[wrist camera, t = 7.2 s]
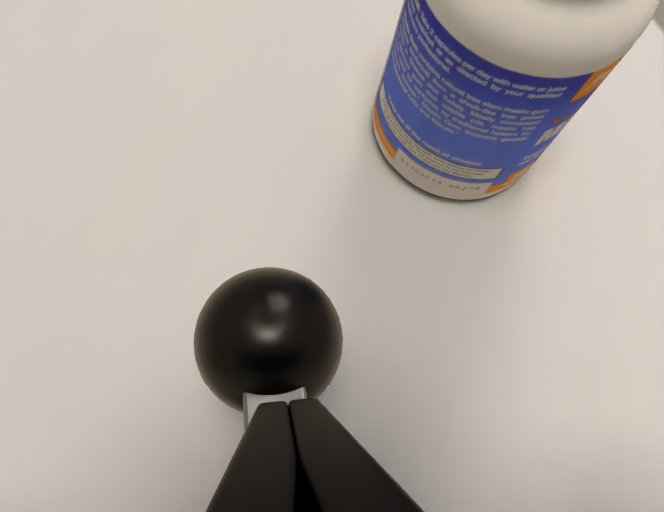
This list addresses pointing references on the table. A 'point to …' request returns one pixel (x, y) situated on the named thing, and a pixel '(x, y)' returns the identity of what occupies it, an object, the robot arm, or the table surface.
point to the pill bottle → (493, 84)
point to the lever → (267, 339)
